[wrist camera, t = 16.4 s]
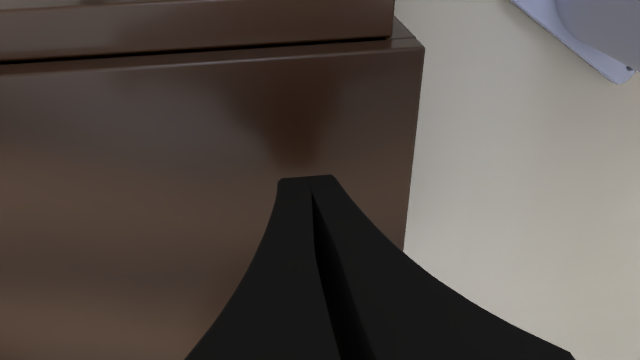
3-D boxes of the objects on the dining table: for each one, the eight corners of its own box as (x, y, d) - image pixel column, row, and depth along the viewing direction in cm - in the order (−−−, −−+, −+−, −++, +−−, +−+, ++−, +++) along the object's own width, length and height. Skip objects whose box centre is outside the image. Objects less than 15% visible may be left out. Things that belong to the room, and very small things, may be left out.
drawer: (-120, -202, 12) (-347, -245, 8) (354, -208, 14) (412, -247, 9) (75, 246, 22) (27, 354, 17) (347, 219, 23) (374, 311, 18)
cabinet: (-34, 3, 16) (-209, 89, 10) (362, -17, 18) (426, 46, 11) (82, 269, 24) (24, 413, 17) (355, 240, 25) (391, 364, 19)
